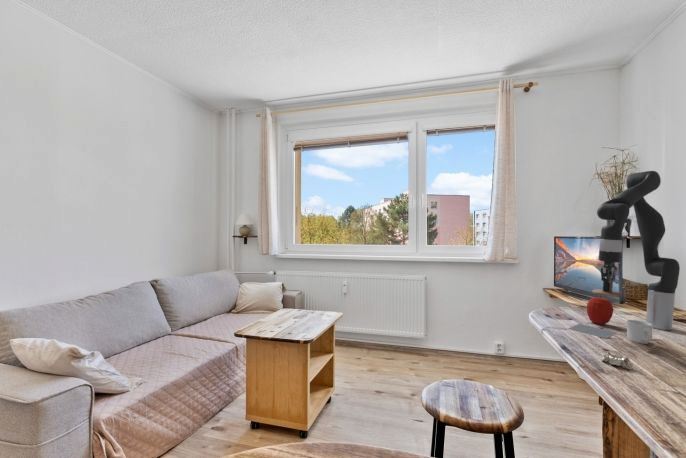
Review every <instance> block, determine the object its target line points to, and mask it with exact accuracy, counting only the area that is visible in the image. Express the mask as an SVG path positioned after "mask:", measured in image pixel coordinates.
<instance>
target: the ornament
mask: <svg viewBox="0 0 686 458" xmlns="http://www.w3.org/2000/svg"><path fill="white" fill-rule="evenodd" d="M601 362H605V363H606V364H607V363H608V364H611V365H614V366H618V367H622V368H623V369H625V370H628V371H631V370H633V367H634V363H632V362H631V360H630V358H629V357H624V356H623V355H617V354H615V353H613V354H612V352H610V351H607V353H606V354H603V357H602V359H601Z"/></svg>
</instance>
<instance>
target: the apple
mask: <svg viewBox="0 0 686 458" xmlns="http://www.w3.org/2000/svg"><path fill="white" fill-rule="evenodd" d="M614 310H615V309H614V307H613V304H612V303H611V302H610V300H608V299H607V298H604V297H602V295H599V297H596V296H595V297H592V298H590V299H589V300H588V301H587V303H586V313H587V316H588V318H589V321H591V322H592V323H593V324H595V325H599V326H600V325H601V326H602V325H603V326H604V325H606V324H608V323H609V322H610V321H611V319H612V317H613V315H614Z"/></svg>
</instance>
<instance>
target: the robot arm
mask: <svg viewBox="0 0 686 458" xmlns="http://www.w3.org/2000/svg"><path fill="white" fill-rule="evenodd" d="M661 182H662V179H661V175H660V173H658V172H657V171H655V170H647V171H642V172H640V171H639V172H633V173H630V174H628V175H627V176H626V183H625V184H626V189H624V190H623V191H621V192H619V193H618V194H617V195H616V196H615V197H614V198H611V199H609V200H607V201H604V202H603V203H602V204H600V205H599V206H598V208H597V210H596V214H597V216H598V218H599V219H601V220H604V221H614V223H612V224H609V225H604V226H602V227H601V229H600V230H601V231H600V241H599V247H598V248H599V251H598V261H600V262H603V264H602V267H600V275H601V276H600V277H601V278H600V279H601V282H603V283H602V284H603V285H602V290H603V291H610V282H611V280H613V283H614V282H615V280H616V275H617V270H618V266H616V263H621V262H622V253H623V243H622V242H623V230H624V227H625V226H626V225H625V224H626V222H627V220H628V218H629V216H630V209H631V208H632V207H633V210H634V213H635V219H636V223H637V224H636V225H637V228H638V232H639V236H640V240H641V246H642V250H643V251H642V253H643V261H644V263H643V264H644V268H645V271H646V272H647V274H648V275H650V276H654V277H660V280H659V281H657V282H654V283H649V284H648V289H647V290H648V291H647V304H646V316H645V322H647V323H650V324H652V325H653V328H652V329H657V330H661V331H672V330H673V321H674V309H675V296H676V289H677V287H678V285H679V284H678V282H679V276H680V269H681V268H680V263H679V261H678V260H677V259H674V258H670V257H661V256H660V255H659V244H660V242H661V240H663V237H664V236H665V234H666V226H665V221H664V217H663V216H662V214H661V213H660V212H659V211H658V210H657V209H655V208H654V207H653V206H652V205H650V204H649V203H648V202H647V200H646V199H645V196H648V195H649V194H651V193H653V192H654V191H657V189H658V188H659V187H660V186H661Z"/></svg>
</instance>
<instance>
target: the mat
mask: <svg viewBox="0 0 686 458" xmlns="http://www.w3.org/2000/svg"><path fill="white" fill-rule="evenodd" d="M567 330H571V331H575V332H579V333H583V334H586V335H587V334H588V335H592V336H594V337H598V338H599V337H600V338H602V339H606V340H607V339H609V338H611V337H612V336H614V335H615V334H618V333H617V331H613V330H608V329H604V328H599V327H595V326H590V325H587V324H586V325H585V324H582V323H577V324H575V325H573V326H570V327H569V328H567Z"/></svg>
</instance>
